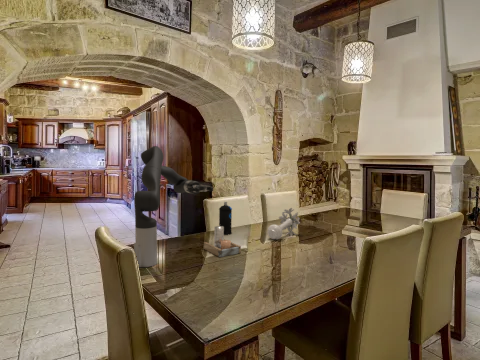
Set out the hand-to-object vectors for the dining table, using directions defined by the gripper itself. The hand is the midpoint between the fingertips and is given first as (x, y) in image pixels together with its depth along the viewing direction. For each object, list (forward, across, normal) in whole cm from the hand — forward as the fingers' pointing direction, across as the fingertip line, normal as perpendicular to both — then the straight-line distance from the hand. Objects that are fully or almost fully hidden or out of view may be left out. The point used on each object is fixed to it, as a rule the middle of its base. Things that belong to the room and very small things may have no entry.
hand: (205, 189), depth 175 cm
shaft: (+12, +1, +30) cm, 33 cm away
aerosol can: (-15, +22, +30) cm, 40 cm away
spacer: (+19, +2, +30) cm, 36 cm away
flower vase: (+11, +48, +30) cm, 58 cm away
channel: (+15, +2, +30) cm, 34 cm away
